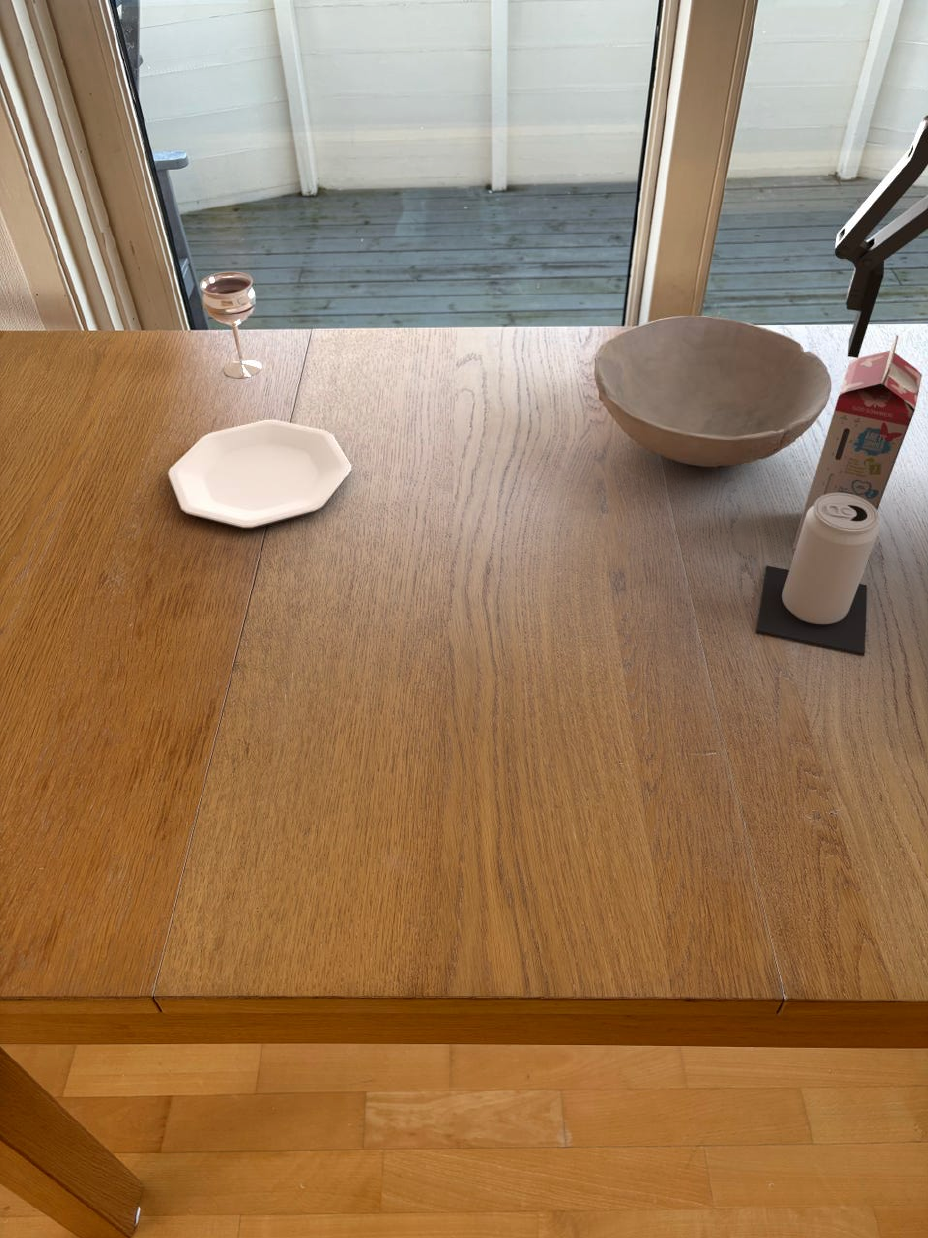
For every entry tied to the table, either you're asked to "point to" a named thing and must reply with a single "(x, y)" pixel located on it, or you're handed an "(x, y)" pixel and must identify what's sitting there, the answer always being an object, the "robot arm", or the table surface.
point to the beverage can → (830, 557)
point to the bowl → (710, 389)
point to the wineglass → (231, 311)
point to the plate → (259, 474)
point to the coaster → (787, 626)
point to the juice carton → (866, 429)
